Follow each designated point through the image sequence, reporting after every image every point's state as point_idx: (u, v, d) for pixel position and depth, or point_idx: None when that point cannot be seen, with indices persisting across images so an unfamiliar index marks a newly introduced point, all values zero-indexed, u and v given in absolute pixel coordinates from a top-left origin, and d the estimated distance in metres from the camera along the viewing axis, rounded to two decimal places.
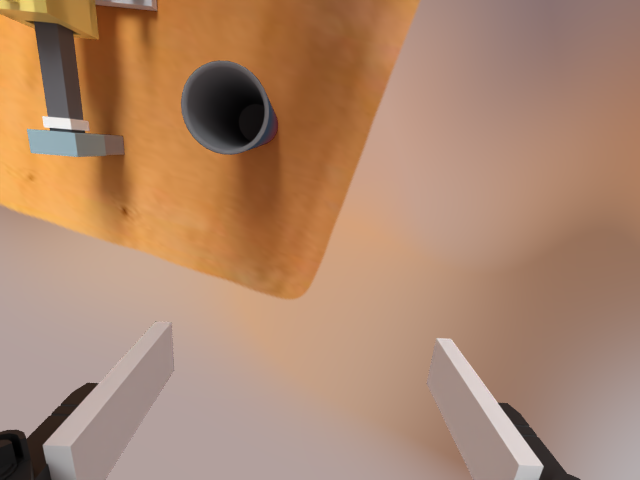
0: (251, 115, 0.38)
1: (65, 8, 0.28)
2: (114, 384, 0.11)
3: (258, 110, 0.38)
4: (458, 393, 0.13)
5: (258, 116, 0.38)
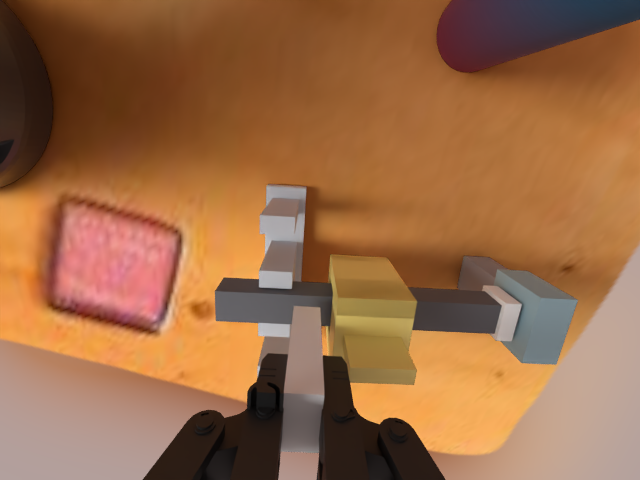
0: None
1: (384, 282, 0.18)
2: (300, 352, 0.14)
3: None
4: None
5: None
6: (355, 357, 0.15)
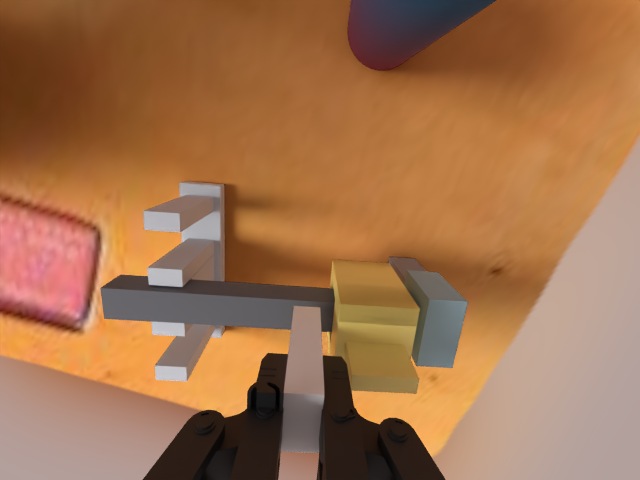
0: None
1: (387, 288, 0.18)
2: (300, 352, 0.14)
3: None
4: None
5: None
6: (357, 365, 0.14)
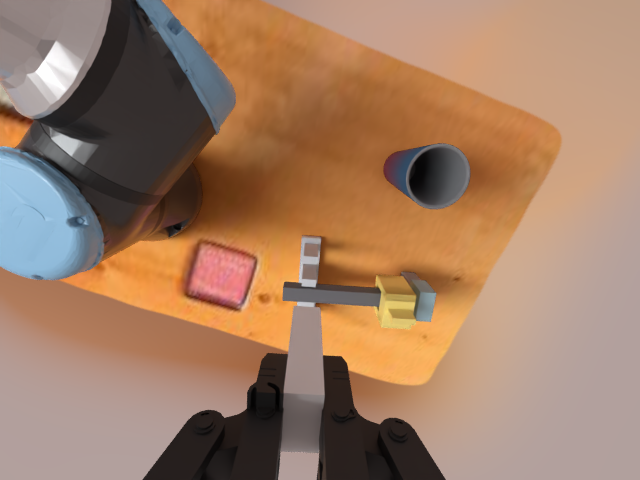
0: None
1: (403, 287, 0.43)
2: (300, 352, 0.14)
3: None
4: None
5: None
6: (393, 315, 0.40)
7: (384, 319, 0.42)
